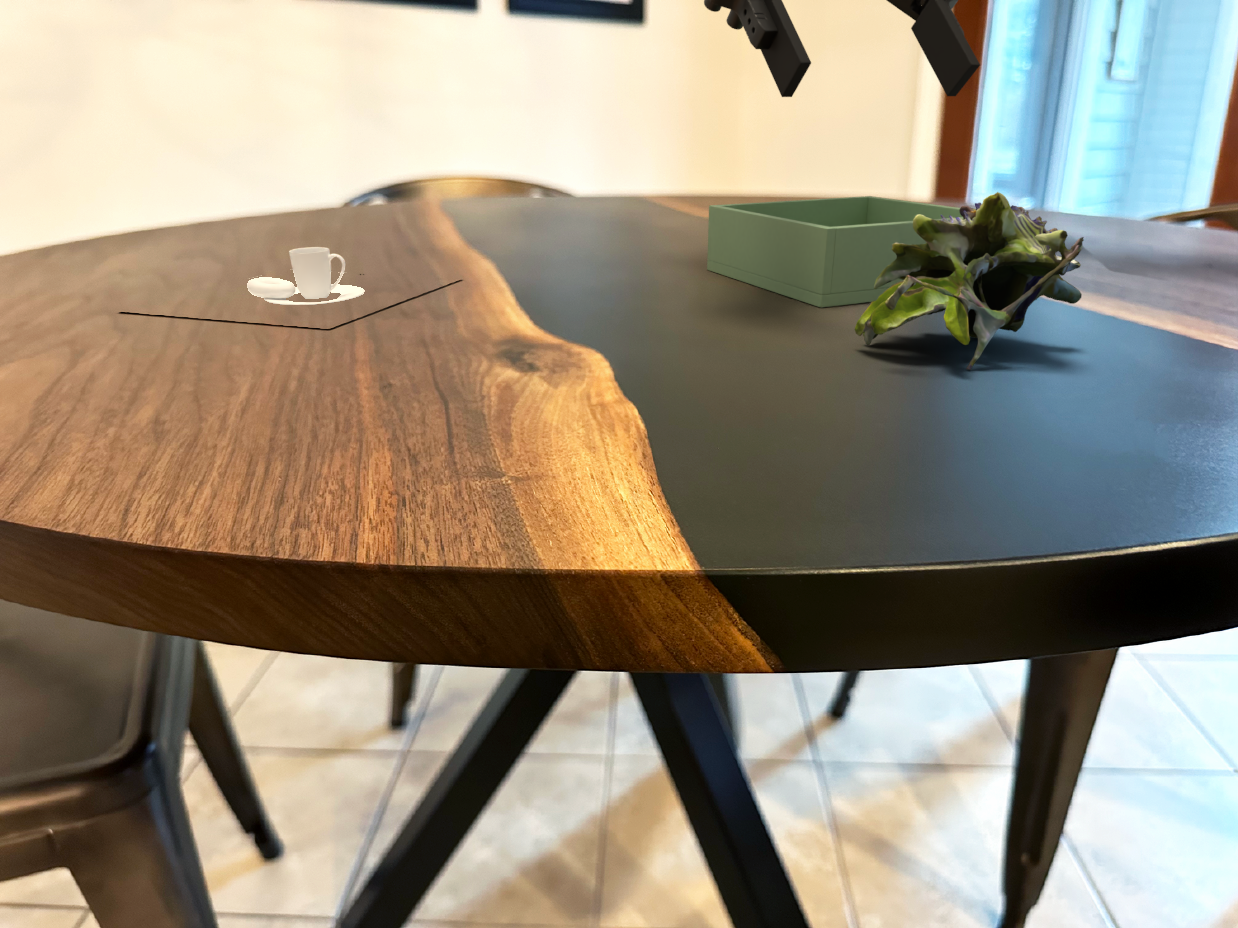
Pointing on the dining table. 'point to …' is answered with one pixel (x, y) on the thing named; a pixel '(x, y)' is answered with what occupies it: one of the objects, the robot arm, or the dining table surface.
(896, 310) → the green leafy lump
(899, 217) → the green open box
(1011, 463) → the dining table surface
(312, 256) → the teacup and saucer
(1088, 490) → the dining table surface
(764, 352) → the dining table surface
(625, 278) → the dining table surface
